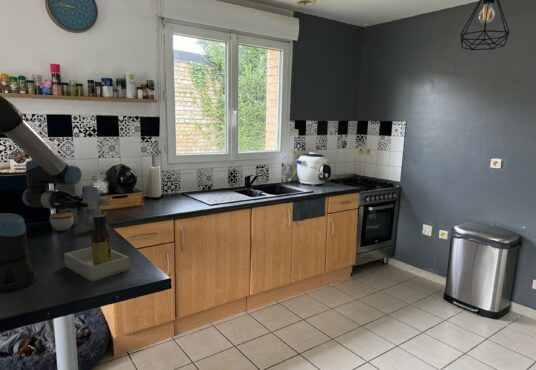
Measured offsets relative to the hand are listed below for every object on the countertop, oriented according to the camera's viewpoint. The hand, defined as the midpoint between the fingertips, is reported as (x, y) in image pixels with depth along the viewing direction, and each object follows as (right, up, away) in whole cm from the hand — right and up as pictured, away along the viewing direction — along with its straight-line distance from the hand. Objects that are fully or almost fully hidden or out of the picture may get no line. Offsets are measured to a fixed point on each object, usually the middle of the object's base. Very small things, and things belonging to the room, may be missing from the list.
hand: (102, 203), depth 145 cm
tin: (-5, -8, +3) cm, 10 cm away
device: (-46, -13, +62) cm, 78 cm away
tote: (0, -24, -3) cm, 24 cm away
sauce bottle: (+3, -24, -7) cm, 25 cm away
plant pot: (-24, -16, +48) cm, 56 cm away
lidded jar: (-41, -16, +48) cm, 66 cm away
